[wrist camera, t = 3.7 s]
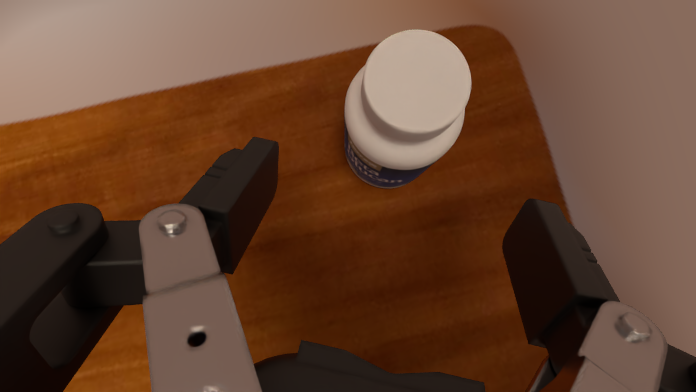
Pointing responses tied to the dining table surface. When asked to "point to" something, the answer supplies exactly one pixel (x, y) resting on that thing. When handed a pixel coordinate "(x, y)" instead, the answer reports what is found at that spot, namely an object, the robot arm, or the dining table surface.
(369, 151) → the pill bottle
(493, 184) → the dining table surface
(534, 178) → the dining table surface
